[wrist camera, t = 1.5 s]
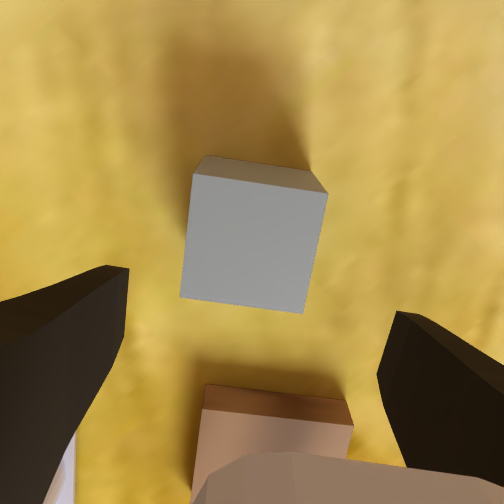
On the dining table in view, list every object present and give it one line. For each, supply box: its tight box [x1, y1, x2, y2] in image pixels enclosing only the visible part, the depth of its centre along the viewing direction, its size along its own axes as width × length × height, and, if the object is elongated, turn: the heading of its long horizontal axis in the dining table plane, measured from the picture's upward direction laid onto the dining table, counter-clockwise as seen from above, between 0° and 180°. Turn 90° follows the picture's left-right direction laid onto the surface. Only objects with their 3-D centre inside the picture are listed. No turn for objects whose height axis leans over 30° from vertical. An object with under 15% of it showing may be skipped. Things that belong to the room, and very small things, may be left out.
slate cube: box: [180, 155, 328, 314], centre depth 20 cm, size 5×5×5 cm
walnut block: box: [190, 384, 354, 504], centre depth 26 cm, size 8×8×2 cm
